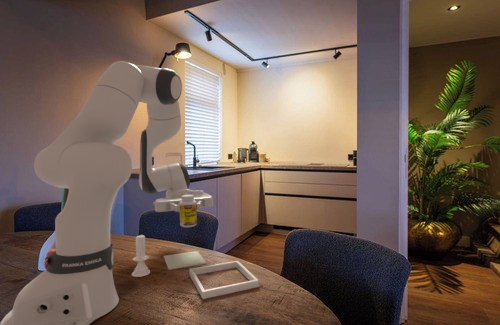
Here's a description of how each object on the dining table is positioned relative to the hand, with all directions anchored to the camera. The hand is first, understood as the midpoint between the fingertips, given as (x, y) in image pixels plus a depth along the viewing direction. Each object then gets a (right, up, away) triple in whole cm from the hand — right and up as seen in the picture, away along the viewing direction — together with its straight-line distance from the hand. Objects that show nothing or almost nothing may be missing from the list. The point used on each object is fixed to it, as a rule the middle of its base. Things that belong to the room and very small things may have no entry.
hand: (188, 207), depth 93 cm
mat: (-2, -19, +3) cm, 19 cm away
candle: (-13, -19, -8) cm, 24 cm away
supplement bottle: (0, -7, +1) cm, 7 cm away
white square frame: (+13, -19, -13) cm, 26 cm away
